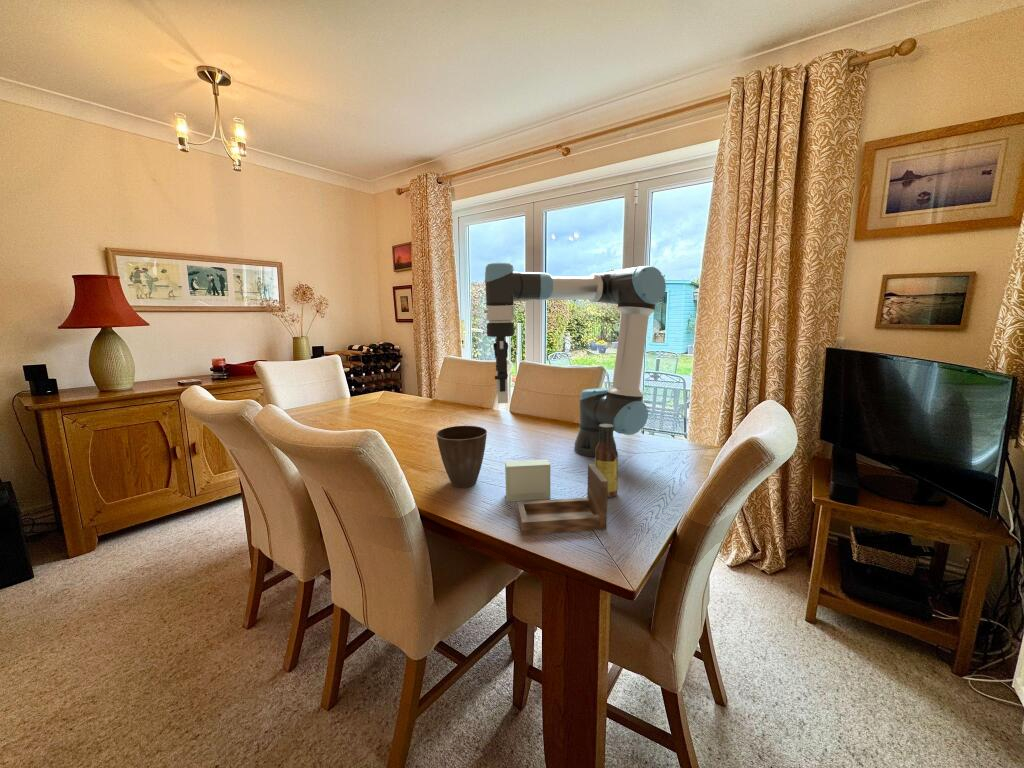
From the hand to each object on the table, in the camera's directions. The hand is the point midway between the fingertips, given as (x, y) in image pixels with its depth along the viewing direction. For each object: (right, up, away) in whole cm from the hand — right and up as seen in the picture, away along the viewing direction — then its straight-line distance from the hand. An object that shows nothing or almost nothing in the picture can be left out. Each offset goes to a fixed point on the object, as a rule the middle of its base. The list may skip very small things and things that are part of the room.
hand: (501, 397), depth 115 cm
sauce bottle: (+29, -27, 0) cm, 40 cm away
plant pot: (-12, -26, +9) cm, 30 cm away
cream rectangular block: (+7, -28, -2) cm, 29 cm away
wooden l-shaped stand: (+15, -30, -15) cm, 36 cm away
